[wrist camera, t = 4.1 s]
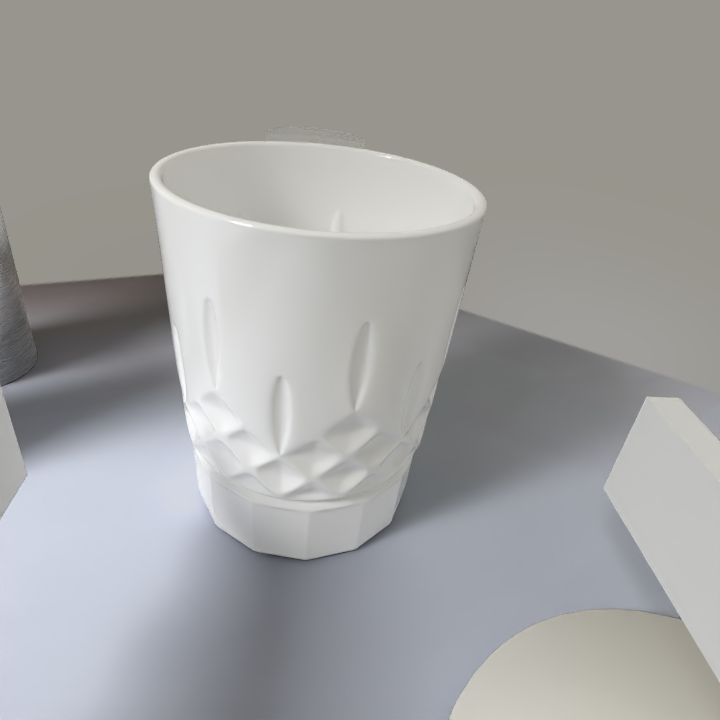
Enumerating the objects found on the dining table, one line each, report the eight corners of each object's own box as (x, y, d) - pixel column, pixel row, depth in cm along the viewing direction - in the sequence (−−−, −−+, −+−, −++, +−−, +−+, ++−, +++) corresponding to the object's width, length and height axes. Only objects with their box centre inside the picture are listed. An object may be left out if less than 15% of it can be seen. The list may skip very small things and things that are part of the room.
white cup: (316, 384, 23) (334, 134, 18) (466, 491, 19) (550, 201, 13) (136, 464, 18) (87, 151, 13) (282, 637, 14) (299, 268, 8)
